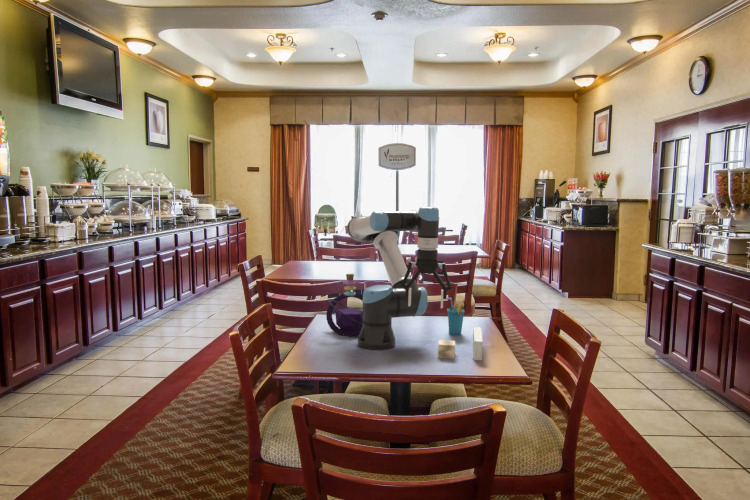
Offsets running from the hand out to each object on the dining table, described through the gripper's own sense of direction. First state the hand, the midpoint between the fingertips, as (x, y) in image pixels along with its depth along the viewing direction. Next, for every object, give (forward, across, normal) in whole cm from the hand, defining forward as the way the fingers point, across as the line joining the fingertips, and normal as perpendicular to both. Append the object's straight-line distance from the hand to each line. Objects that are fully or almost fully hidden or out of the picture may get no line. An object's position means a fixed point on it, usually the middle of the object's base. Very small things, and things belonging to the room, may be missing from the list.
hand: (425, 306), depth 191 cm
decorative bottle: (+18, -34, +24) cm, 46 cm away
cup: (+18, +11, +31) cm, 37 cm away
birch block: (+18, +8, 0) cm, 20 cm away
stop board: (+18, +20, +7) cm, 28 cm away
